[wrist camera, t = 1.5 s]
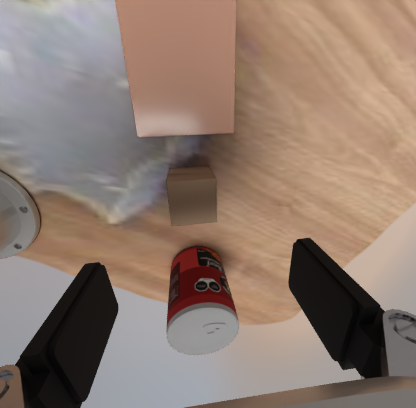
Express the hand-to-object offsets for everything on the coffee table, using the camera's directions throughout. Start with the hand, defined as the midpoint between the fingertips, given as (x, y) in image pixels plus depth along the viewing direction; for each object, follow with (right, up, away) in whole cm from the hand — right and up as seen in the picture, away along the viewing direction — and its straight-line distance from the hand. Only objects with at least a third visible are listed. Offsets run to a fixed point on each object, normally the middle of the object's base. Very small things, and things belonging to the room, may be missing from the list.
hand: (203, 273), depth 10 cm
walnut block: (-2, +6, +16) cm, 18 cm away
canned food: (-2, -6, +22) cm, 23 cm away
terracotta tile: (-3, +18, +11) cm, 21 cm away
